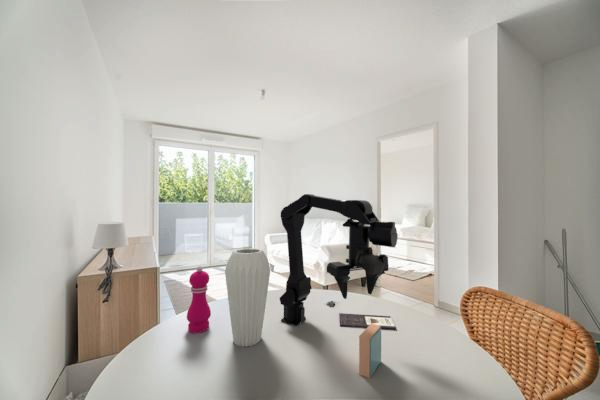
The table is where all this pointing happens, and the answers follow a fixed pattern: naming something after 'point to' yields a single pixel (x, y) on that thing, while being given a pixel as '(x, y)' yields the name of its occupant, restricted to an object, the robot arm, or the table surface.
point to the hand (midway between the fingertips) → (357, 296)
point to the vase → (247, 294)
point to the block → (369, 350)
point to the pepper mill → (198, 302)
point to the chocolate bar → (366, 321)
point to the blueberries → (330, 303)
